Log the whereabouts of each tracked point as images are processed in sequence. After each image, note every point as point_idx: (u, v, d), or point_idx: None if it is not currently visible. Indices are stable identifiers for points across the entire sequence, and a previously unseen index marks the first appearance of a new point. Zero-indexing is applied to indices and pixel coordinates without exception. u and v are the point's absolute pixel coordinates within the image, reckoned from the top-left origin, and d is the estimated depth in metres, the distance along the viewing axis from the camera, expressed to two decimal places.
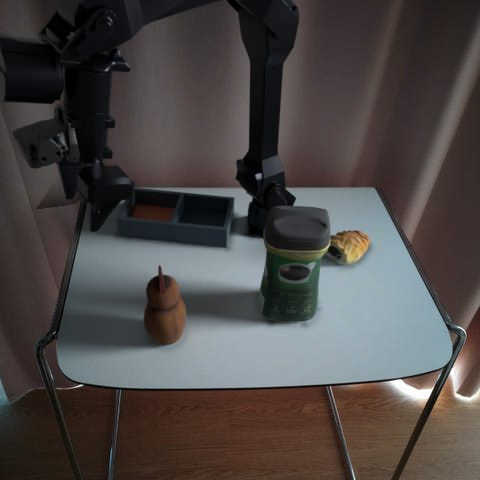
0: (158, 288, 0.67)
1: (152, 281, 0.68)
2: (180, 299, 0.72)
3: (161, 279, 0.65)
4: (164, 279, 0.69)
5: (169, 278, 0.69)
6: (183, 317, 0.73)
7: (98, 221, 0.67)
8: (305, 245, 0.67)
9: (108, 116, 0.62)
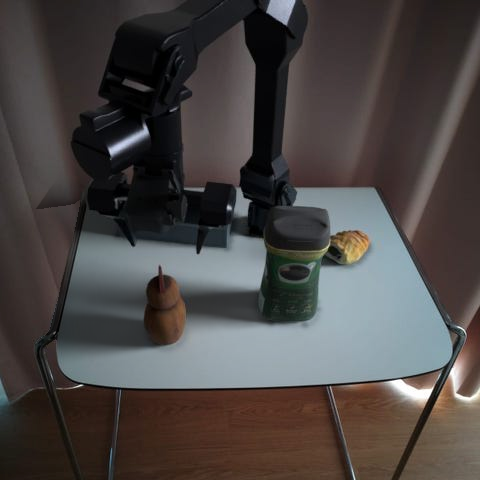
0: (158, 288, 0.67)
1: (152, 281, 0.68)
2: (180, 299, 0.72)
3: (161, 279, 0.65)
4: (164, 279, 0.69)
5: (169, 278, 0.69)
6: (183, 317, 0.73)
7: None
8: (305, 245, 0.67)
9: None
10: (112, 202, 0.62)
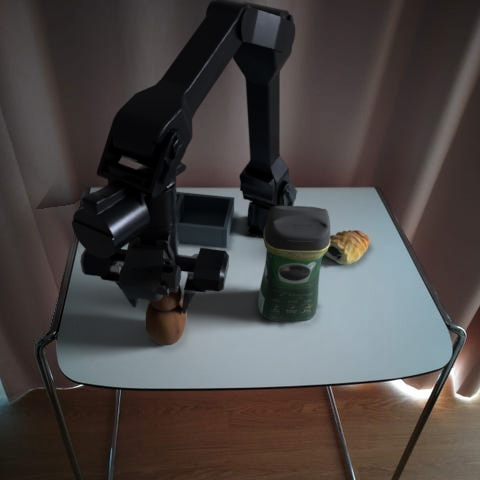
0: None
1: None
2: (182, 300, 0.72)
3: None
4: None
5: None
6: (184, 318, 0.73)
7: None
8: (305, 245, 0.67)
9: None
10: (107, 268, 0.63)
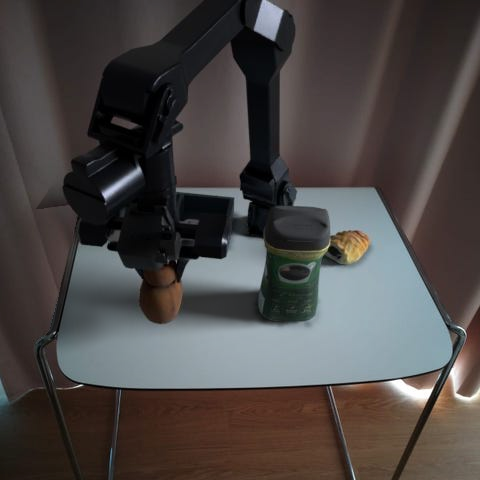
0: None
1: None
2: None
3: None
4: None
5: None
6: (180, 295, 0.70)
7: None
8: (305, 245, 0.67)
9: None
10: (104, 237, 0.60)
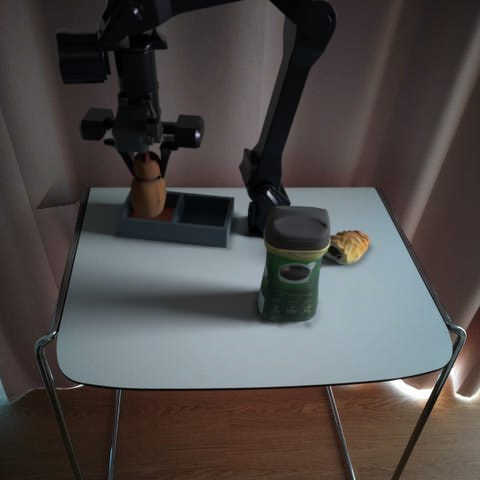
0: (144, 159, 0.79)
1: (138, 154, 0.80)
2: None
3: None
4: (149, 153, 0.81)
5: (153, 153, 0.81)
6: (164, 191, 0.85)
7: (166, 166, 0.82)
8: (305, 245, 0.67)
9: None
10: (101, 131, 0.75)
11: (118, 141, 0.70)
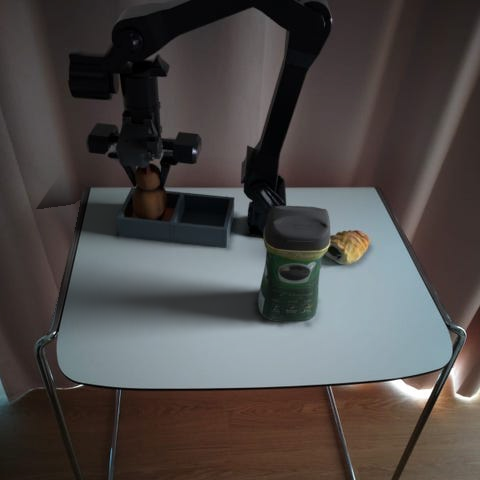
0: (145, 171, 0.86)
1: None
2: None
3: None
4: (150, 165, 0.87)
5: (154, 165, 0.88)
6: (164, 200, 0.92)
7: (166, 178, 0.89)
8: (305, 245, 0.67)
9: None
10: (106, 146, 0.82)
11: (121, 156, 0.77)
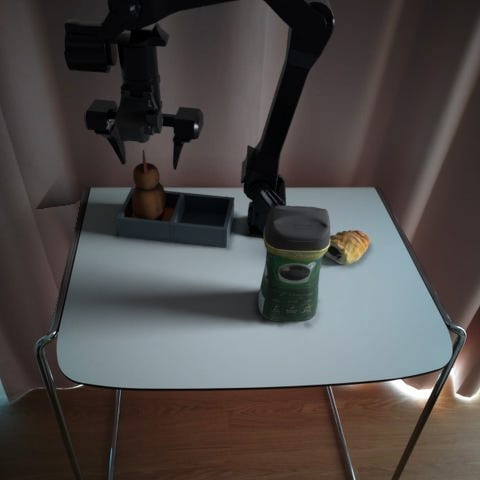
0: (143, 170, 0.86)
1: (138, 166, 0.87)
2: (160, 185, 0.91)
3: (145, 160, 0.84)
4: (147, 165, 0.88)
5: (151, 164, 0.88)
6: (163, 199, 0.92)
7: None
8: (305, 245, 0.67)
9: None
10: (105, 122, 0.79)
11: (120, 131, 0.74)
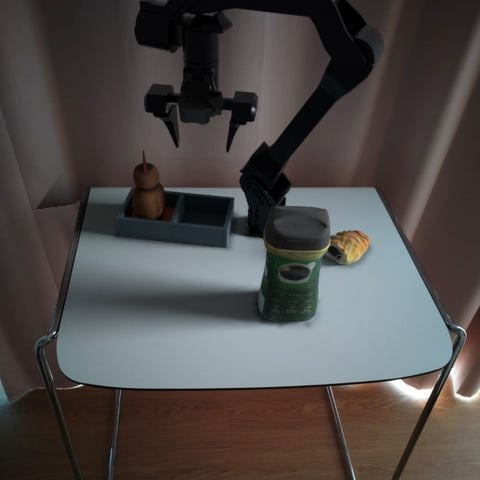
0: (142, 170, 0.86)
1: (138, 166, 0.87)
2: (160, 185, 0.91)
3: (144, 160, 0.84)
4: (147, 165, 0.88)
5: (151, 164, 0.88)
6: (163, 199, 0.92)
7: None
8: (305, 245, 0.67)
9: None
10: (165, 105, 0.82)
11: (183, 112, 0.77)
